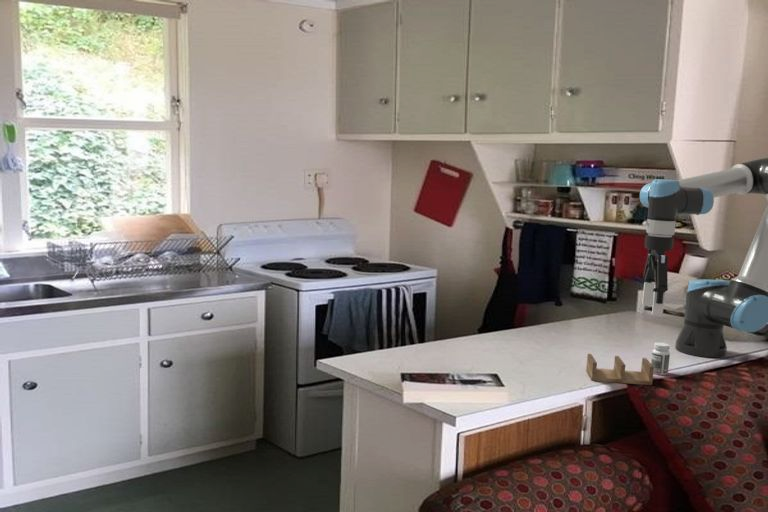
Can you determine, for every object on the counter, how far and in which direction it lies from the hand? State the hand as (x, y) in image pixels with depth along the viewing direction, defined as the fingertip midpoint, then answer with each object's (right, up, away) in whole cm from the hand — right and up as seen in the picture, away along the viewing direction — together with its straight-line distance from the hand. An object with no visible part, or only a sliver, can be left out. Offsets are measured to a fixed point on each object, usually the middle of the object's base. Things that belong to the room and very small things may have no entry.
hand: (651, 309), depth 229 cm
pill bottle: (+2, -18, +1) cm, 18 cm away
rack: (-11, -18, -7) cm, 23 cm away
